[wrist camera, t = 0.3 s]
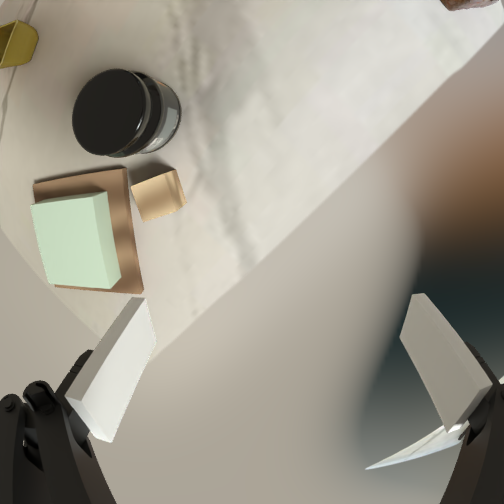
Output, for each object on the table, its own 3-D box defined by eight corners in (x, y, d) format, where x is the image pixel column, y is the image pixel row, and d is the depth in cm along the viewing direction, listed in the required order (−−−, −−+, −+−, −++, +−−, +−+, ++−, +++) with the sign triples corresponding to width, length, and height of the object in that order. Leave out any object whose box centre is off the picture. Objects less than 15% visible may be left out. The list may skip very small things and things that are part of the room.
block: (145, 180, 37) (130, 186, 33) (176, 169, 36) (163, 173, 32) (156, 212, 39) (143, 222, 34) (186, 202, 38) (176, 211, 34)
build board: (38, 183, 37) (32, 184, 36) (126, 167, 36) (121, 169, 35) (59, 283, 45) (55, 286, 43) (144, 289, 44) (140, 294, 42)
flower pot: (10, 72, 28) (-20, 70, 20) (23, 34, 25) (-5, 27, 17) (33, 69, 29) (0, 65, 21) (48, 28, 26) (18, 18, 17)
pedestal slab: (45, 199, 37) (30, 205, 33) (106, 191, 36) (92, 196, 33) (61, 273, 42) (49, 283, 38) (121, 277, 41) (110, 289, 38)
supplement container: (131, 77, 31) (85, 60, 20) (195, 91, 32) (165, 71, 21) (108, 143, 35) (58, 148, 24) (169, 162, 36) (131, 172, 25)
